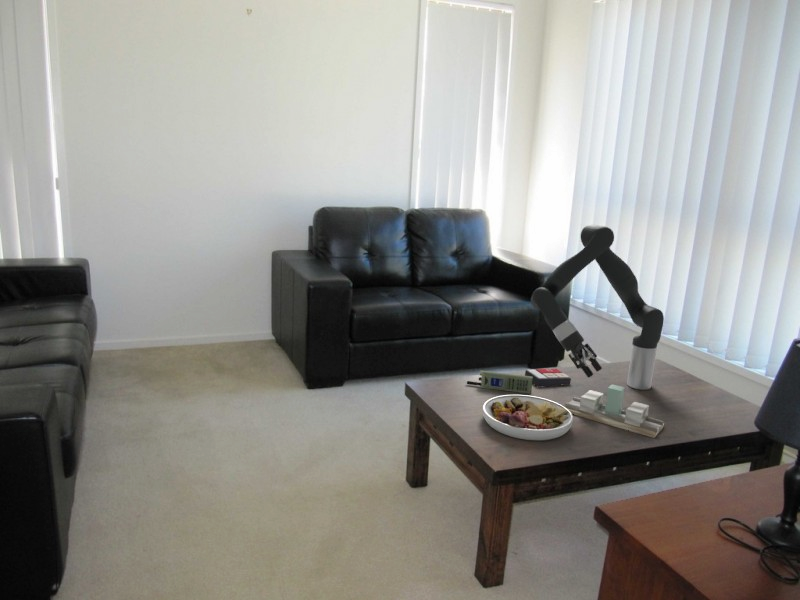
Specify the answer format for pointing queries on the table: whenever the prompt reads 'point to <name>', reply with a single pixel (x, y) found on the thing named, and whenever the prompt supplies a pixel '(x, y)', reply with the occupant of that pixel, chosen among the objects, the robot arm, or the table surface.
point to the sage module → (614, 400)
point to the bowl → (527, 417)
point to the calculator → (548, 377)
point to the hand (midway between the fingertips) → (595, 373)
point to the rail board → (628, 419)
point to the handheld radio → (504, 382)
